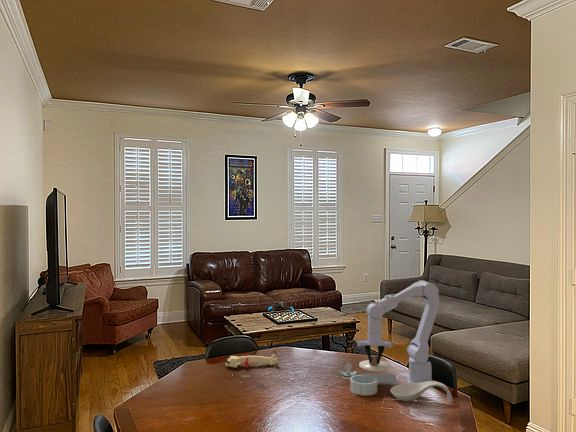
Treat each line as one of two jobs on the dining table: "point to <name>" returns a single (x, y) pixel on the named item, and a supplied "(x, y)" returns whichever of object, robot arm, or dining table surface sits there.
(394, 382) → the mat
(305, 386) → the dining table surface
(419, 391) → the spoon rest
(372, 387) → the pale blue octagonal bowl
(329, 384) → the dining table surface
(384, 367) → the lid
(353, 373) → the pacifier
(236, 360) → the cream plush toy
